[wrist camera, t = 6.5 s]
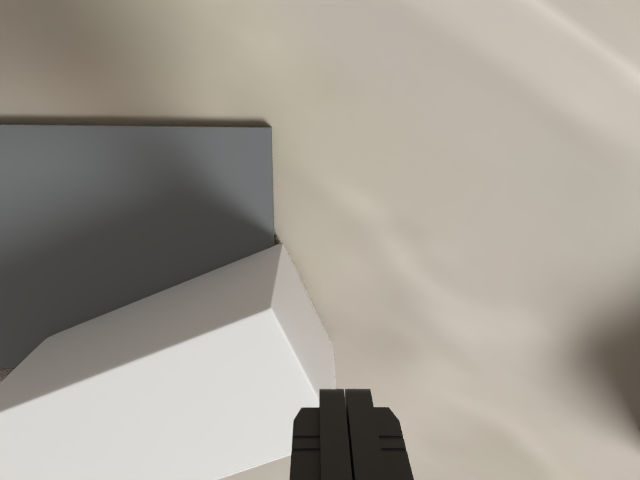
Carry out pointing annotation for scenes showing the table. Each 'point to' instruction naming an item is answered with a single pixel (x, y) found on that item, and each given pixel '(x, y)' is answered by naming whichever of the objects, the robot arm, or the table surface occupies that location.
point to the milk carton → (172, 382)
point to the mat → (120, 217)
